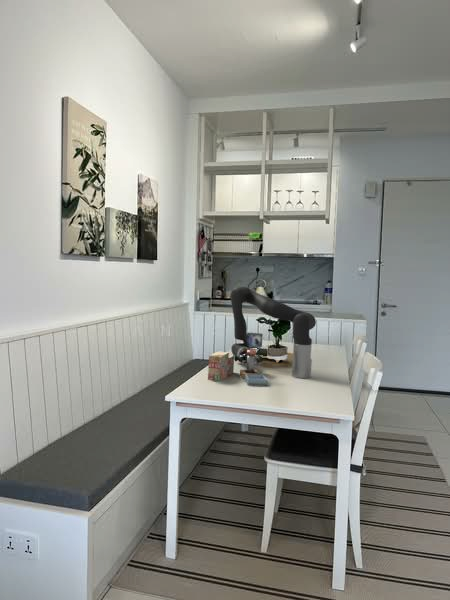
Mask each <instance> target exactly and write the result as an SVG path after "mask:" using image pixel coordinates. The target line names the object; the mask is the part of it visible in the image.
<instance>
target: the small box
mask: <svg viewBox="0 0 450 600" xmlns="http://www.w3.org/2000/svg"><path fill="white" fill-rule="evenodd" d="M247 340H248V344H249V347H250V348H257V349H259V348H260V347H263V333H259V332H247Z"/></svg>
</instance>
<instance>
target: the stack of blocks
mask: <svg viewBox="0 0 450 600" xmlns="http://www.w3.org/2000/svg"><path fill="white" fill-rule="evenodd" d="M234 366H235V360H234V355H233V354H230V353H229V352H228V351H220V350H219V351H216V352H214V353H212V354H209V355H208V370H207V381H209V380H210V381H216V382H217V381H218V382H221V381H222V380H224V379H226V378H227V377H228V376H230V375H232V374H233V373H234Z"/></svg>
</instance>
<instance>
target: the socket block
mask: <svg viewBox="0 0 450 600" xmlns="http://www.w3.org/2000/svg"><path fill="white" fill-rule="evenodd" d="M245 374H246V375H262V373H260V371H259V370H258V369H254V373H246V369H239V377H240V378H241V380H243V381H245Z"/></svg>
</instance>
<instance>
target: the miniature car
mask: <svg viewBox="0 0 450 600" xmlns="http://www.w3.org/2000/svg"><path fill="white" fill-rule="evenodd" d="M268 347H269V346H265V345H264V346H263V345H262V347H260V348H259V350H256V355H263V356H267V349H268Z"/></svg>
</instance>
